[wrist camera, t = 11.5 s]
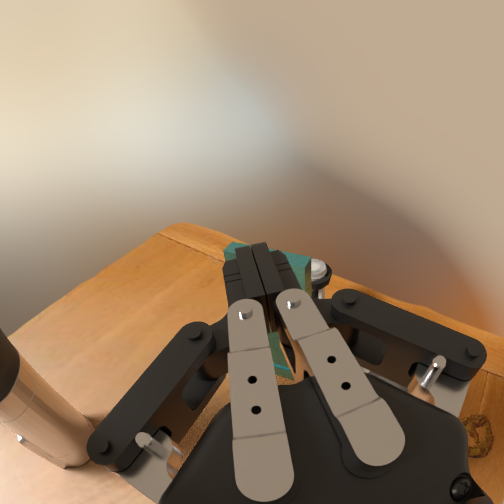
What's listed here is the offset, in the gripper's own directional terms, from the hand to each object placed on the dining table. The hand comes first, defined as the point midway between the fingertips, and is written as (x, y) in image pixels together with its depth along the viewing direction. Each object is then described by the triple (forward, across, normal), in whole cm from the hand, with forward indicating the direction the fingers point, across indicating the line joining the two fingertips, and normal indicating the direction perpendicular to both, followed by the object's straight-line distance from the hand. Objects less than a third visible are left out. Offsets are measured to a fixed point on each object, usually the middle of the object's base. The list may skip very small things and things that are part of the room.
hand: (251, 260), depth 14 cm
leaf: (-11, -24, +28) cm, 38 cm away
